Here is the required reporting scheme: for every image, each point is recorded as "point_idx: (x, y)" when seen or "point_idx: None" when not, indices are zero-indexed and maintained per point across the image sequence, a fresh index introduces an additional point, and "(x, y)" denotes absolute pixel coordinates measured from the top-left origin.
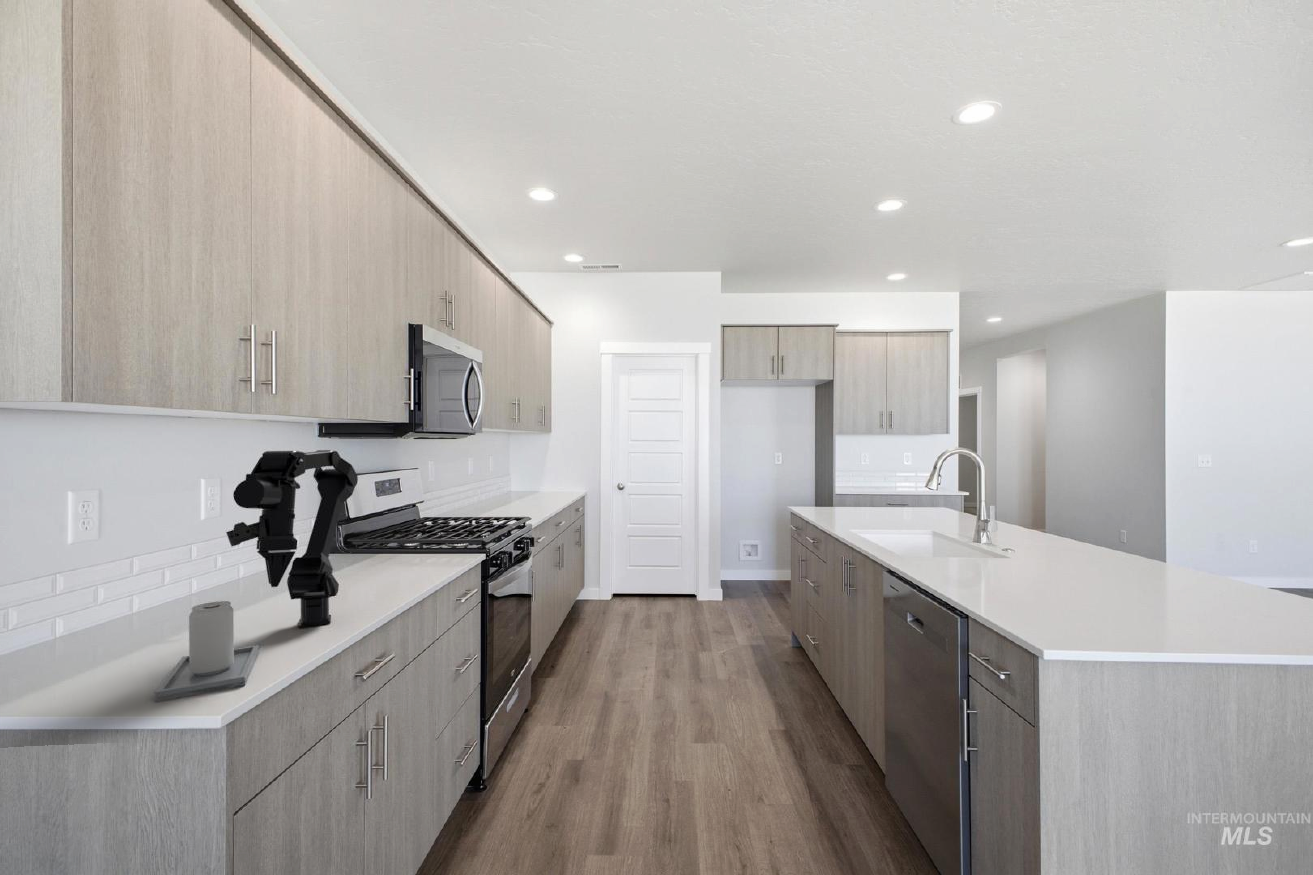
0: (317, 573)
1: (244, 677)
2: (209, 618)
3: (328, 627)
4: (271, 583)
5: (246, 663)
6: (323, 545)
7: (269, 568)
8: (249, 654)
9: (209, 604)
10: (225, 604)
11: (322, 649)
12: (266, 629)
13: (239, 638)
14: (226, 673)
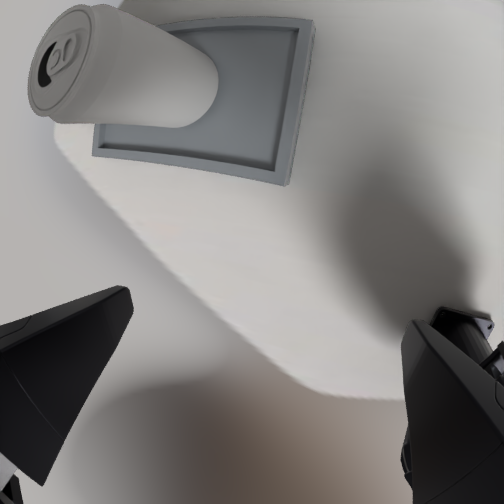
0: (405, 473)
1: (92, 155)
2: (48, 76)
3: (384, 357)
4: (103, 293)
5: (150, 153)
6: None
7: (17, 323)
8: (250, 160)
9: (78, 40)
10: (42, 103)
11: (213, 301)
12: (500, 242)
13: (475, 168)
14: None
